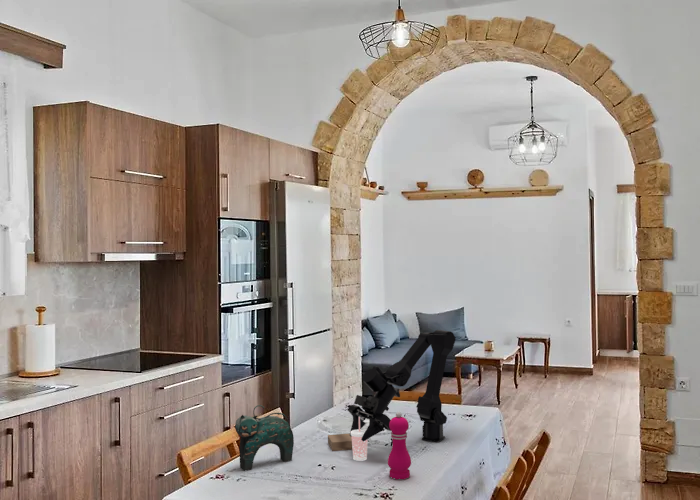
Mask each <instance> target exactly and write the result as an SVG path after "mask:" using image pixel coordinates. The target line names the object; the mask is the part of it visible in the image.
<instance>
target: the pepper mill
mask: <svg viewBox="0 0 700 500" xmlns="http://www.w3.org/2000/svg"><path fill="white" fill-rule="evenodd" d="M402 415H403V414H402V413H401V412H400V411H397V412H396V413H395V417H392V418H390V423H389V428H390V430H391V431H390V438H391V440H392V447H391V449H390V453H389V455H388V458H387V465H388V467H389V468H390V469H389V470H388V471H389V477H390V478H391V477H392V478H391V479H393V478H395V479H394V480H398V479H402V480H406V478H407V479H408V478H410V476H411V474H410V473H411V470H410V469H409V468H410V467H411V465H412V458H411V456H410V454H409V451H408V449H407V440H406V439H408V432H407V431H408V430H409V428H410V427H409V425H410V424H409V421H408V419H407V418H405V417H403V416H402Z"/></svg>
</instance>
